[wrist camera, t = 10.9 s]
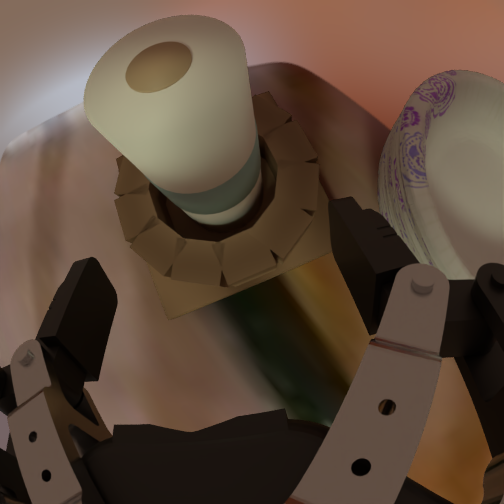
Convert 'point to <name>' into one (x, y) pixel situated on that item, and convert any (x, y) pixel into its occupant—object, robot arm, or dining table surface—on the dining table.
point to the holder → (238, 241)
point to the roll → (183, 116)
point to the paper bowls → (448, 173)
